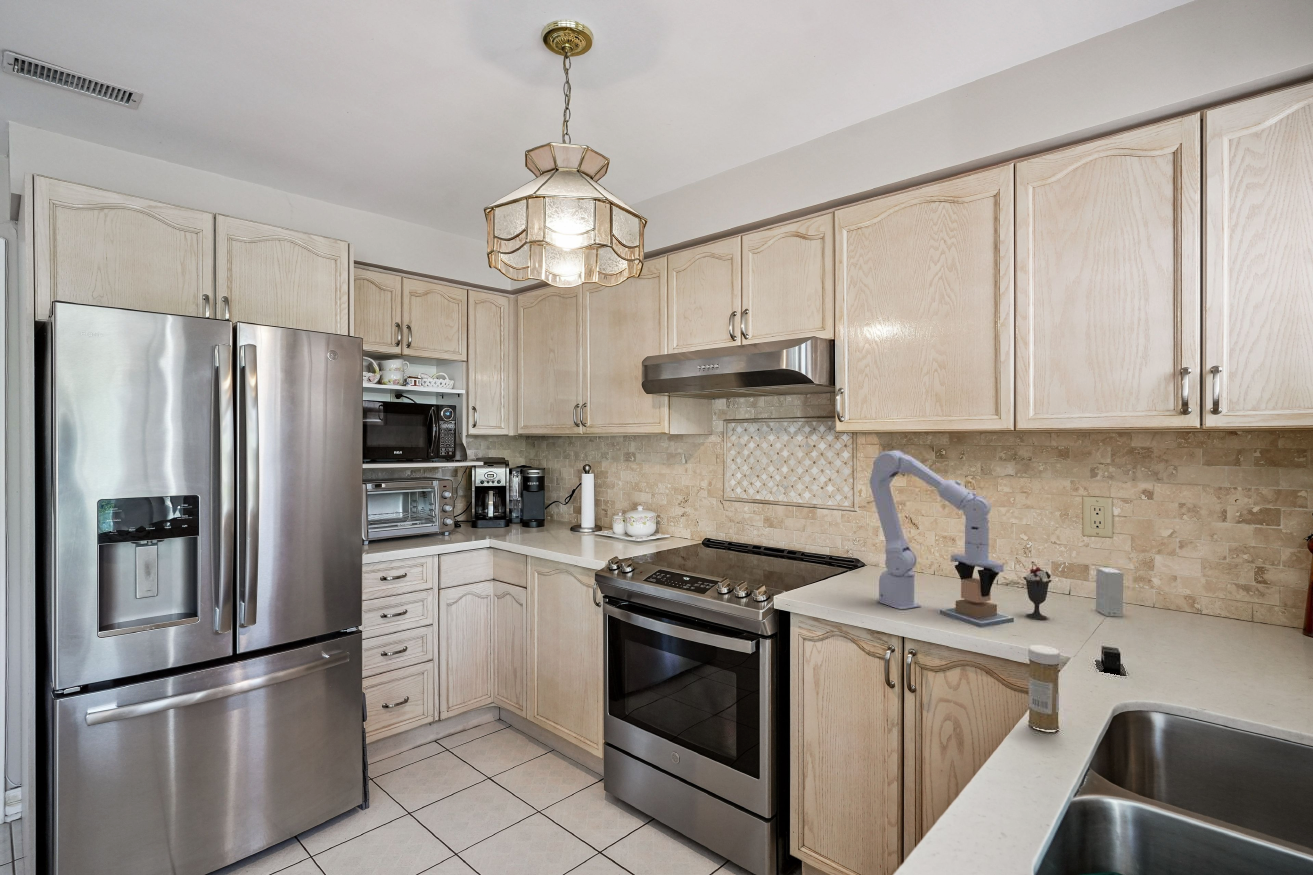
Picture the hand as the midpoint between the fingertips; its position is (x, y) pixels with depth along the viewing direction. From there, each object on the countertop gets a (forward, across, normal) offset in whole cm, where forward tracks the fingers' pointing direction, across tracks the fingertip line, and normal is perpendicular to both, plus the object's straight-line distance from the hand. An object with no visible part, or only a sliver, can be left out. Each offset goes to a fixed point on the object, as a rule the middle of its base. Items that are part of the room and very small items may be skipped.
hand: (976, 593), depth 169 cm
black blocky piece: (+7, +37, -5) cm, 38 cm away
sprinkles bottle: (+7, +48, -43) cm, 65 cm away
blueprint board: (+6, 0, 0) cm, 6 cm away
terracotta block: (+2, 0, 0) cm, 2 cm away
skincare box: (+7, +12, +36) cm, 39 cm away
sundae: (+6, +6, +15) cm, 18 cm away
